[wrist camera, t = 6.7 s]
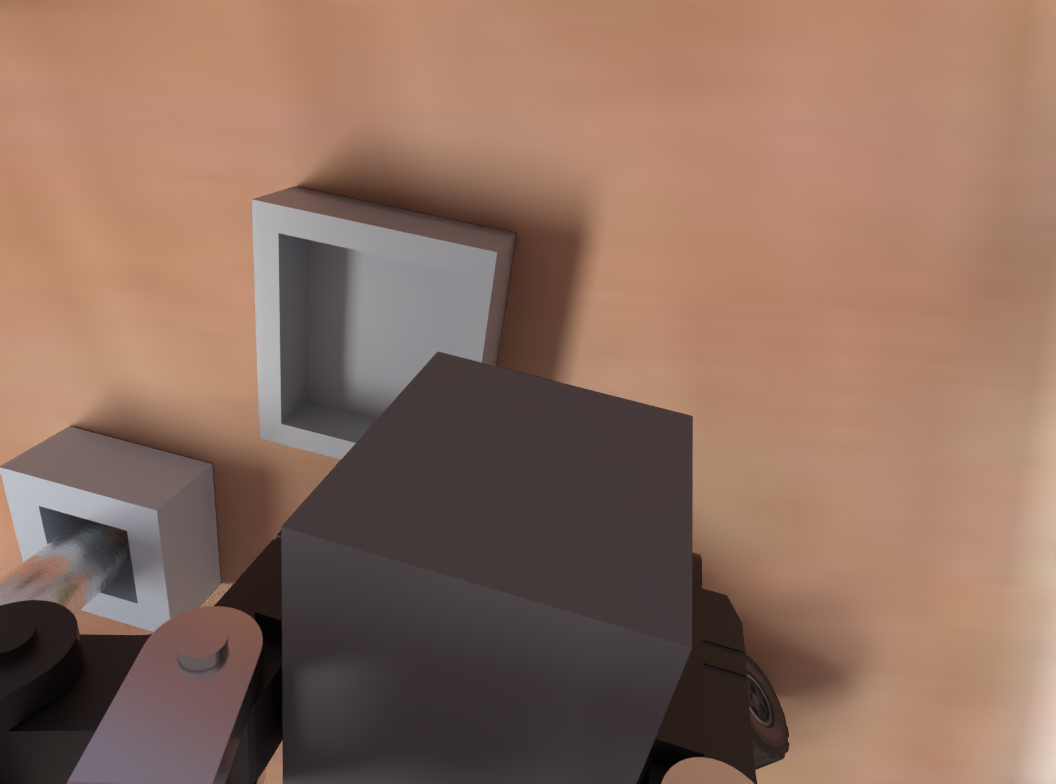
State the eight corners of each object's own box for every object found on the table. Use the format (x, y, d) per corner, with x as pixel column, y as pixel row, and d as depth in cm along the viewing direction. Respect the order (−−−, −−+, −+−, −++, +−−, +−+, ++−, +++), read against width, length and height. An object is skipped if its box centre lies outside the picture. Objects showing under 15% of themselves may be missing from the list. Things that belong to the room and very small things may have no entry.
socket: (221, 583, 37) (172, 637, 33) (91, 546, 38) (31, 595, 34) (212, 464, 33) (156, 510, 30) (69, 426, 34) (-1, 467, 31)
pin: (178, 538, 36) (-84, 781, 24) (124, 523, 37) (-160, 755, 24) (172, 490, 35) (-109, 722, 22) (117, 475, 35) (-189, 696, 23)
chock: (695, 416, 10) (697, 649, 6) (606, 685, 13) (567, 964, 9) (434, 350, 10) (276, 525, 6) (403, 623, 13) (280, 861, 9)
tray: (483, 453, 30) (463, 491, 27) (295, 407, 31) (259, 438, 28) (516, 233, 25) (497, 252, 23) (295, 186, 26) (251, 199, 24)
